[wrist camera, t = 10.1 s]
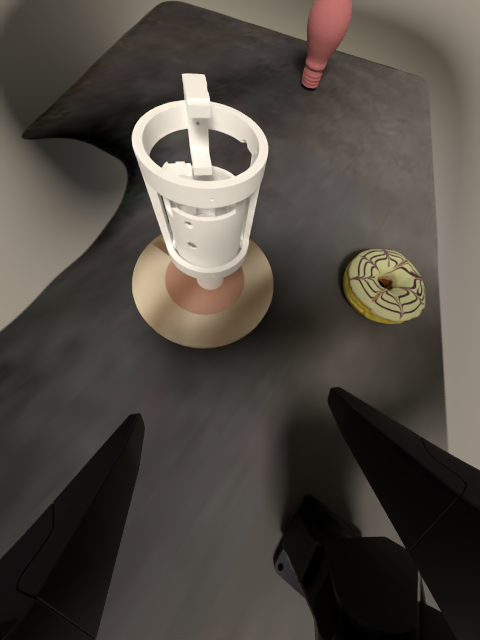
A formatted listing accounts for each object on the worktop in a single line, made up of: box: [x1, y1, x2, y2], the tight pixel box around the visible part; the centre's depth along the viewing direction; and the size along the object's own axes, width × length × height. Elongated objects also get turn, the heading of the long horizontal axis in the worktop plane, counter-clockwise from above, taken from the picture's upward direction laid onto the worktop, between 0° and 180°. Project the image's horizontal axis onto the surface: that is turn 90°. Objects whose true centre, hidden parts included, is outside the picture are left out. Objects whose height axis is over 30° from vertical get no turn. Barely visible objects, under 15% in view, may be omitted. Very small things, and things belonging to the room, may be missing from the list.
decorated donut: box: [343, 249, 425, 324], centre depth 28 cm, size 10×11×4 cm
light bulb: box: [302, 0, 352, 88], centre depth 38 cm, size 7×7×12 cm
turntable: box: [132, 234, 273, 349], centre depth 24 cm, size 16×16×1 cm
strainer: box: [132, 74, 268, 290], centre depth 17 cm, size 7×7×15 cm
